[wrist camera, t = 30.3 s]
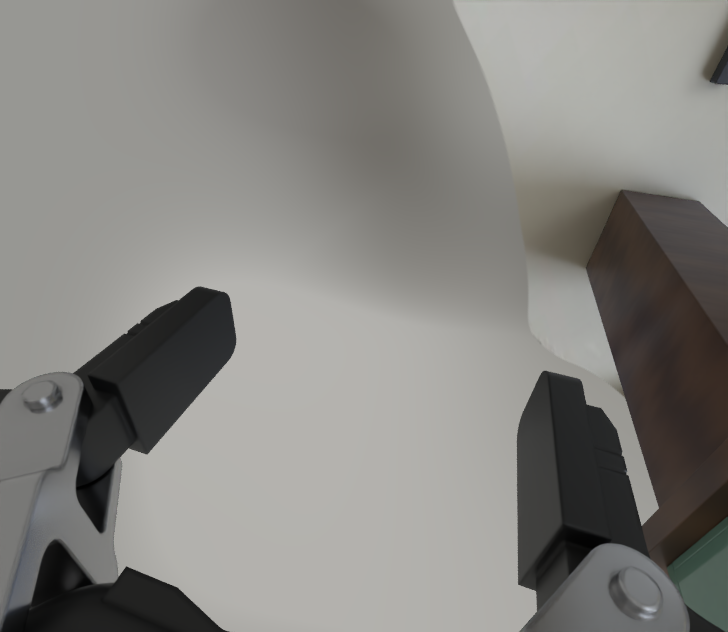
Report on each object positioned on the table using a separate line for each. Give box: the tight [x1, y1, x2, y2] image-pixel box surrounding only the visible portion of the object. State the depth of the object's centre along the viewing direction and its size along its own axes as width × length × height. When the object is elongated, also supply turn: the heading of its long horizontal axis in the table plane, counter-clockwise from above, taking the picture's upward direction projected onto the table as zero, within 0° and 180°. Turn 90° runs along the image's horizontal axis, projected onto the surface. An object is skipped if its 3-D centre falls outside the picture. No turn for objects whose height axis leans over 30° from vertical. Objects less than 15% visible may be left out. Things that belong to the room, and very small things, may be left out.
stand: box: [586, 190, 728, 577], centre depth 30 cm, size 15×8×32 cm, turn 175°
